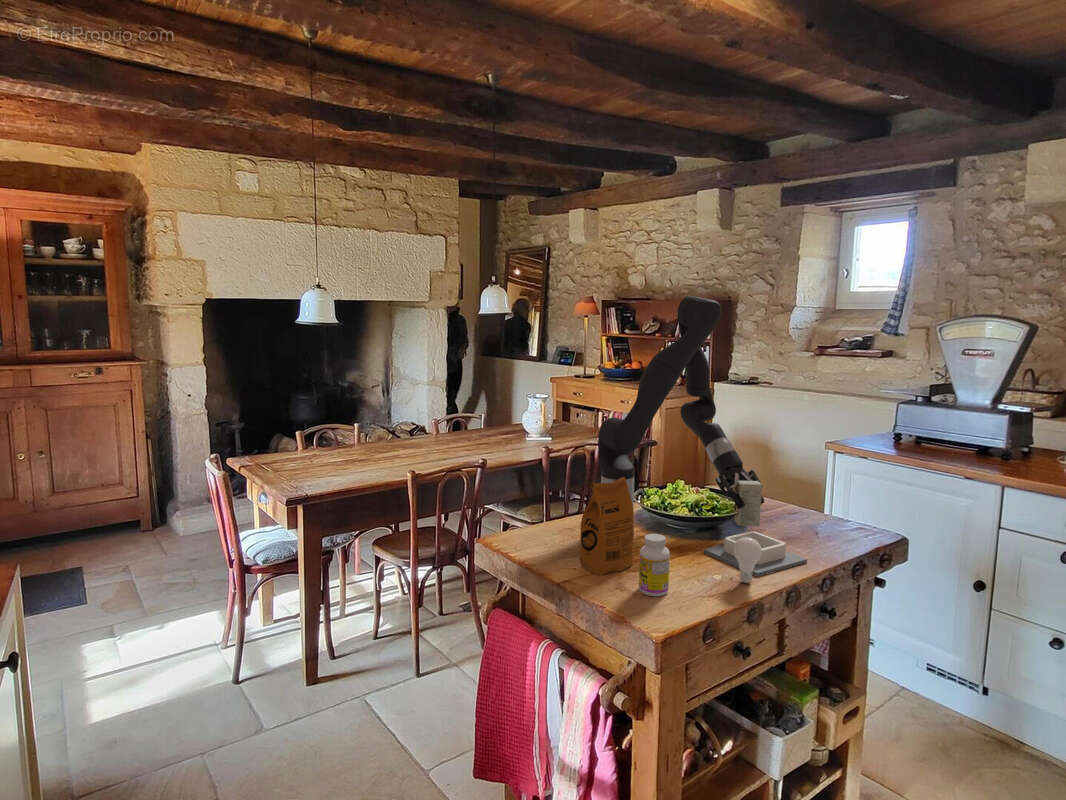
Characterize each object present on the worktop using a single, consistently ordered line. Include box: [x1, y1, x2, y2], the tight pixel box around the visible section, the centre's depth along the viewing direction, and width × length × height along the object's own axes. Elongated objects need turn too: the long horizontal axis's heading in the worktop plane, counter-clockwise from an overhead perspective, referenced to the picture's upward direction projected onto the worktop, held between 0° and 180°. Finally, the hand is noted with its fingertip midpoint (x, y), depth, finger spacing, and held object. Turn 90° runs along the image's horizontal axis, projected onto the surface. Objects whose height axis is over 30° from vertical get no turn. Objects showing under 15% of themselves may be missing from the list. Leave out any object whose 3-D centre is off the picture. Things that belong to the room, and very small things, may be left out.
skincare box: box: [734, 480, 763, 527], centre depth 186 cm, size 6×4×12 cm
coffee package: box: [579, 477, 635, 576], centre depth 162 cm, size 10×12×22 cm
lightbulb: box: [733, 537, 762, 584], centre depth 153 cm, size 6×6×11 cm
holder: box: [703, 530, 808, 577], centre depth 169 cm, size 18×18×4 cm
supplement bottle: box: [638, 533, 671, 597], centre depth 148 cm, size 7×7×13 cm
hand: (752, 505), depth 184 cm, fingers closed on skincare box, 7 cm apart
